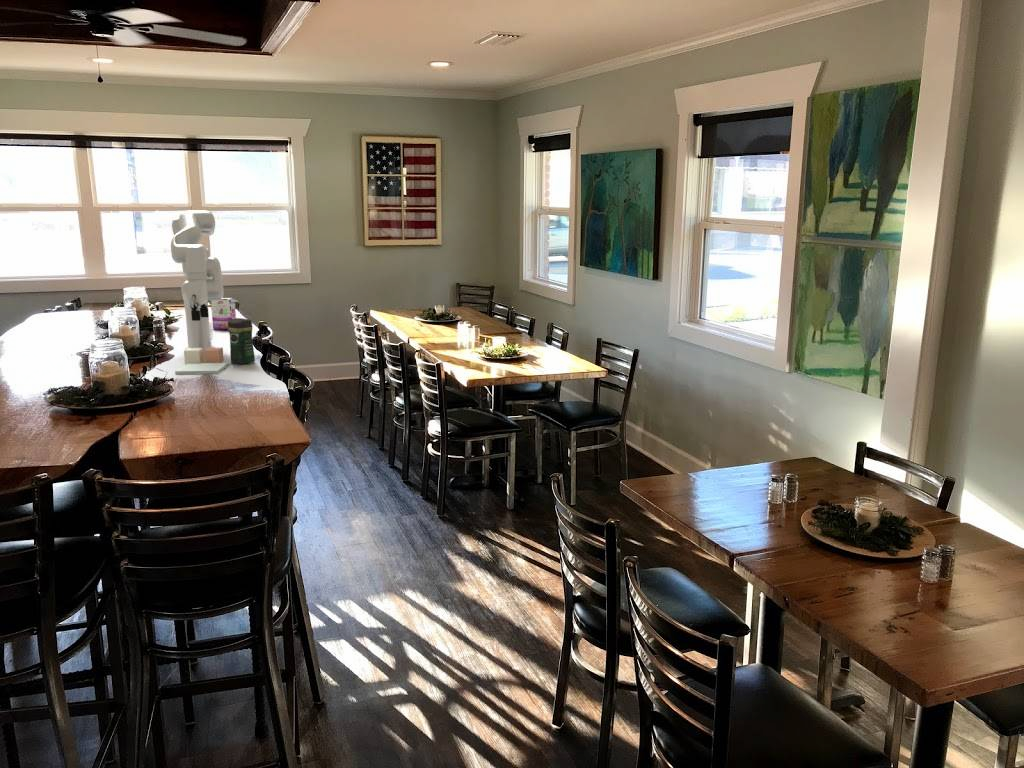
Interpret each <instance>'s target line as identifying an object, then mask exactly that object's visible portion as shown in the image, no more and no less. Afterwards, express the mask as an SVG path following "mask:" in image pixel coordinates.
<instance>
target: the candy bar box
mask: <svg viewBox="0 0 1024 768" xmlns="http://www.w3.org/2000/svg"><path fill="white" fill-rule="evenodd" d="M235 300H236V299H235V297H223V298H222V299H221V300H214V301H210V306H211V308H210V309H211V318H212V330H213V329H228V321H229V320H230V319H234V318H237V313H236V301H235Z"/></svg>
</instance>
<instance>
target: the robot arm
mask: <svg viewBox="0 0 1024 768" xmlns="http://www.w3.org/2000/svg"><path fill="white" fill-rule="evenodd" d="M171 229H172V232H173V237H172V239H171V242H170V253H171V254H170V255H171V257H172V260H173V261H174V263H175V264H181V267H182V272H183V276H184V277H186V280H185V281H184V282H182V284H181V285H180V290H181V296H182V300H183V304H184V305H183V306H184V311H185V312H184V313H185V321H186V322H185V323H186V335H187V345H188V347H187V346H186V347H185V348H184V350H186V349H187V348H203V353H204V350H205V349H207V348H216V347H215V346H214V345H212V343H211V341H212V340H211V331H210V329H211V328H210V317H209V316H210V314H209V304H208V303H209V301H210V302H211V301H214V300H221V299H222V298H224V294H225V292H224V283H223V273H222V267H221V262H220V261H219V259H218V257H215V256H210V250H209V248H208V247H207V246H206V245H205V244H198V243H199V242H200V241H201V240H202V239H203V238H202V237H210V236H212V235H214V233H215V229H216V218H215V216H214V214H213V213H212V212H211V211H209V210H186V211H183V212H181V213H180V214H179V216H178V217H175V218H174V219H173V220H172V222H171Z"/></svg>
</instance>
